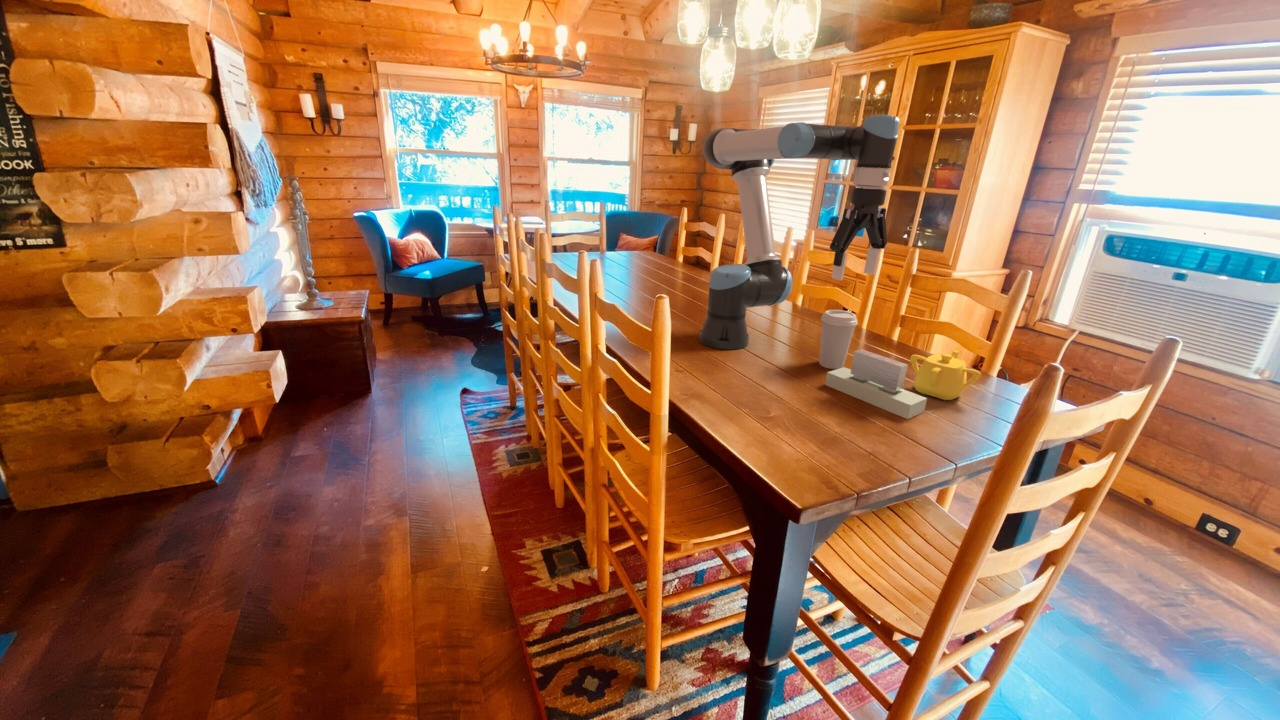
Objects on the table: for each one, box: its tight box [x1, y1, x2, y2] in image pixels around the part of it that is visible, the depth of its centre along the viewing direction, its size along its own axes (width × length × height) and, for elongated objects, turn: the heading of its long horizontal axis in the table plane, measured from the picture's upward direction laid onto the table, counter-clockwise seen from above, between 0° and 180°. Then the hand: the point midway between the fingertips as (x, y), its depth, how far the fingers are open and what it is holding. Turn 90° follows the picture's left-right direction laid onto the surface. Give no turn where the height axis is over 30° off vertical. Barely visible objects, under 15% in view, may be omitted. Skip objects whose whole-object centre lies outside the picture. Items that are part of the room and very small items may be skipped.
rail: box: [825, 366, 928, 420], centre depth 127 cm, size 22×7×4 cm, turn 35°
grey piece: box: [850, 348, 909, 396], centre depth 126 cm, size 12×3×10 cm, turn 35°
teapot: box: [910, 348, 982, 401], centre depth 131 cm, size 14×13×10 cm
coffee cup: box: [819, 309, 859, 370], centre depth 145 cm, size 10×10×15 cm
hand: (853, 276), depth 132 cm, fingers open, 13 cm apart
